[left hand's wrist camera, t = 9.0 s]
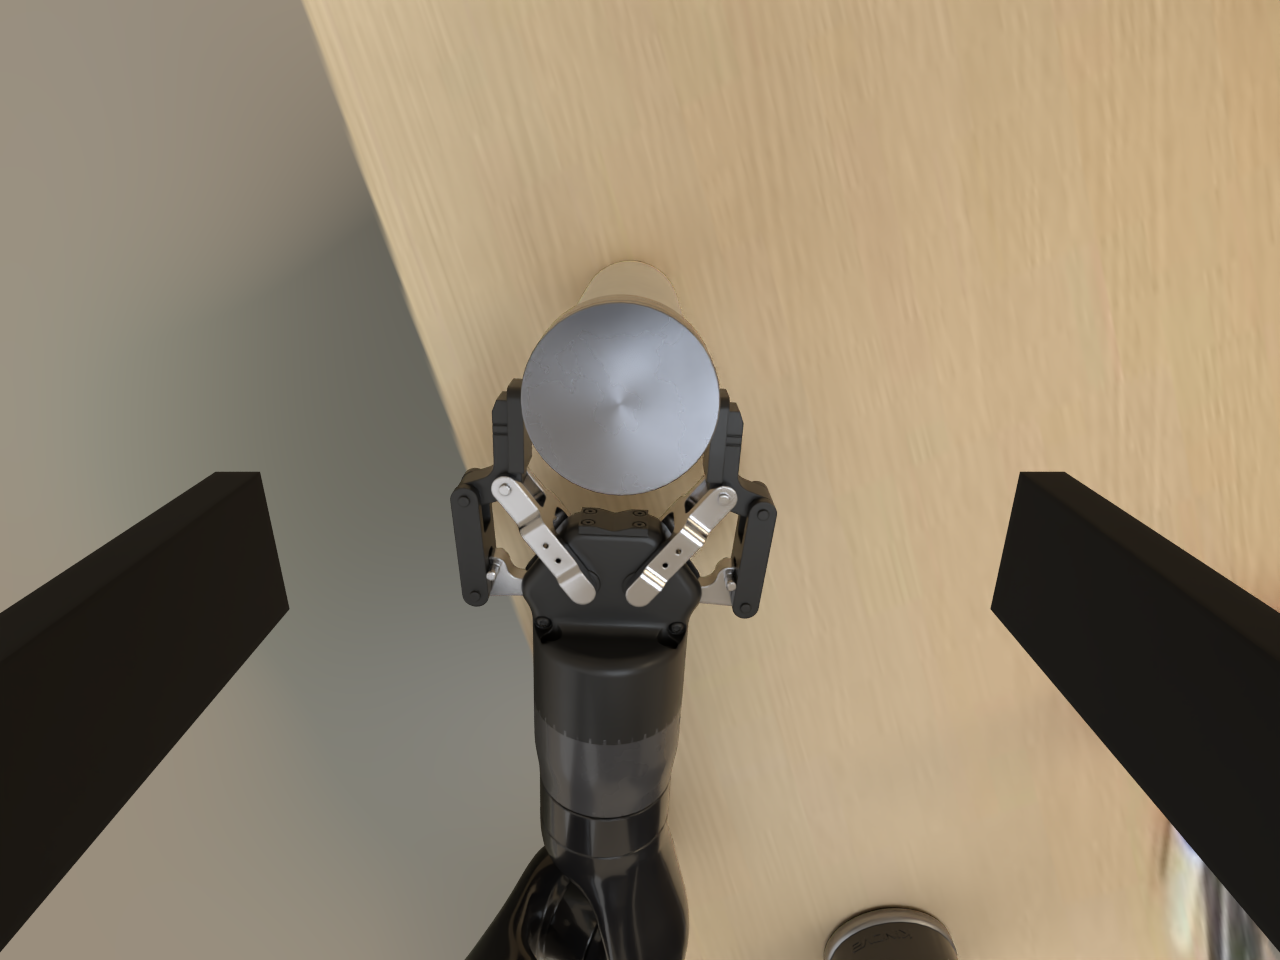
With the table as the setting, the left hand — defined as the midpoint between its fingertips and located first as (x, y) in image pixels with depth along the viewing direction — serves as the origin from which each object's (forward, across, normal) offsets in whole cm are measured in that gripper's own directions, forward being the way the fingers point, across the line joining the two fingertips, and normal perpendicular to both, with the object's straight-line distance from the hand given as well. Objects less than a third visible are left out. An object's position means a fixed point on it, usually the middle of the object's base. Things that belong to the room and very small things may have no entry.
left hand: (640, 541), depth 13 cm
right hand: (+18, +1, +2) cm, 18 cm away
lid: (+8, 0, 0) cm, 8 cm away
